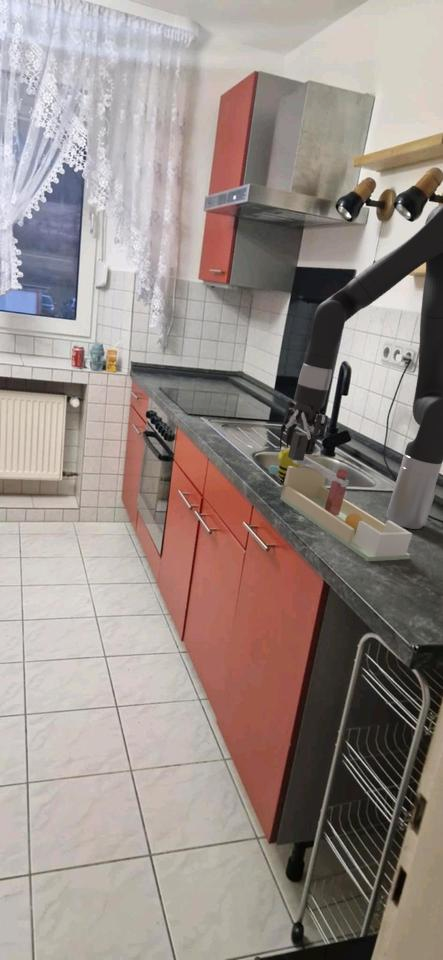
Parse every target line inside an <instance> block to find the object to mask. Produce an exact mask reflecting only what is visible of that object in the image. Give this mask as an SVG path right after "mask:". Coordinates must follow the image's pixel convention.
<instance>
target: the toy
mask: <svg viewBox="0 0 443 960" xmlns="http://www.w3.org/2000/svg"><path fill="white" fill-rule="evenodd" d="M286 430H287V428H286V424H282V425H281V427H280V437H279V453H278V456H277V457H278V458H277V459H278V461H279V466H277V465H274V464H271V465H269V467H268V474H270V475H275V474H278V477H279V478H280V479H281V480H282V482H283V483H284V481H285V477H286V473H287V468H288V466H296V467H301V464H295V463H294V462H293V460H292V459H291V458H289V457H288V454H289V450H290V447H289V444H286V445H285V446H282V442H283V441H282V439H283V433H284V432H285V431H286Z"/></svg>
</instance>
